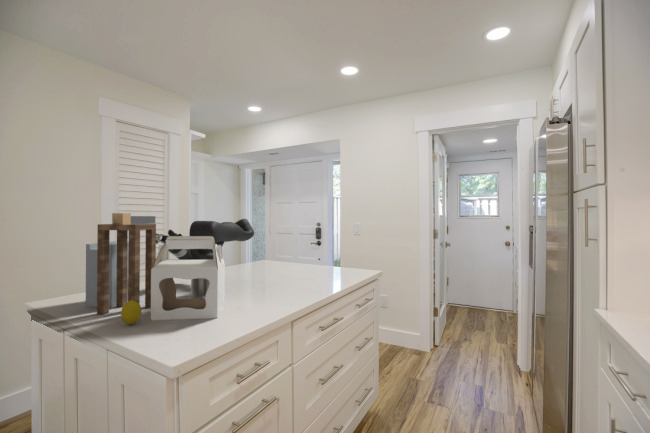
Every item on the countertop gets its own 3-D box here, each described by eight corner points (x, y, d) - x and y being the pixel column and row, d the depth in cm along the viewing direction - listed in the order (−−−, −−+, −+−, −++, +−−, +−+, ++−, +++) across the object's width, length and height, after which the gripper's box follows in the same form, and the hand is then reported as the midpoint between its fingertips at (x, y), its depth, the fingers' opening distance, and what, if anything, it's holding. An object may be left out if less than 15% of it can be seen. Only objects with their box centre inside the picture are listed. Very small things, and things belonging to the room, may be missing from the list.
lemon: (144, 322, 103) (145, 298, 103) (133, 328, 98) (133, 302, 98) (129, 321, 104) (129, 297, 104) (116, 327, 98) (116, 302, 98)
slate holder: (134, 297, 134) (135, 241, 134) (110, 307, 120) (110, 244, 120) (112, 297, 135) (112, 241, 135) (85, 306, 121) (86, 244, 121)
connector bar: (156, 223, 131) (156, 213, 131) (122, 224, 111) (123, 213, 111) (147, 223, 131) (147, 213, 131) (112, 224, 111) (112, 213, 111)
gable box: (149, 320, 105) (150, 237, 105) (164, 309, 118) (165, 235, 118) (218, 318, 108) (218, 237, 108) (225, 307, 121) (225, 235, 121)
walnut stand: (155, 305, 122) (155, 223, 122) (134, 315, 110) (135, 224, 110) (120, 305, 123) (121, 223, 123) (96, 314, 111) (97, 224, 111)
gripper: (188, 254, 149) (172, 239, 135) (159, 253, 150) (141, 238, 136) (192, 240, 153) (177, 223, 139) (164, 239, 153) (146, 223, 139)
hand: (159, 231), depth 137 cm, fingers open, 8 cm apart
